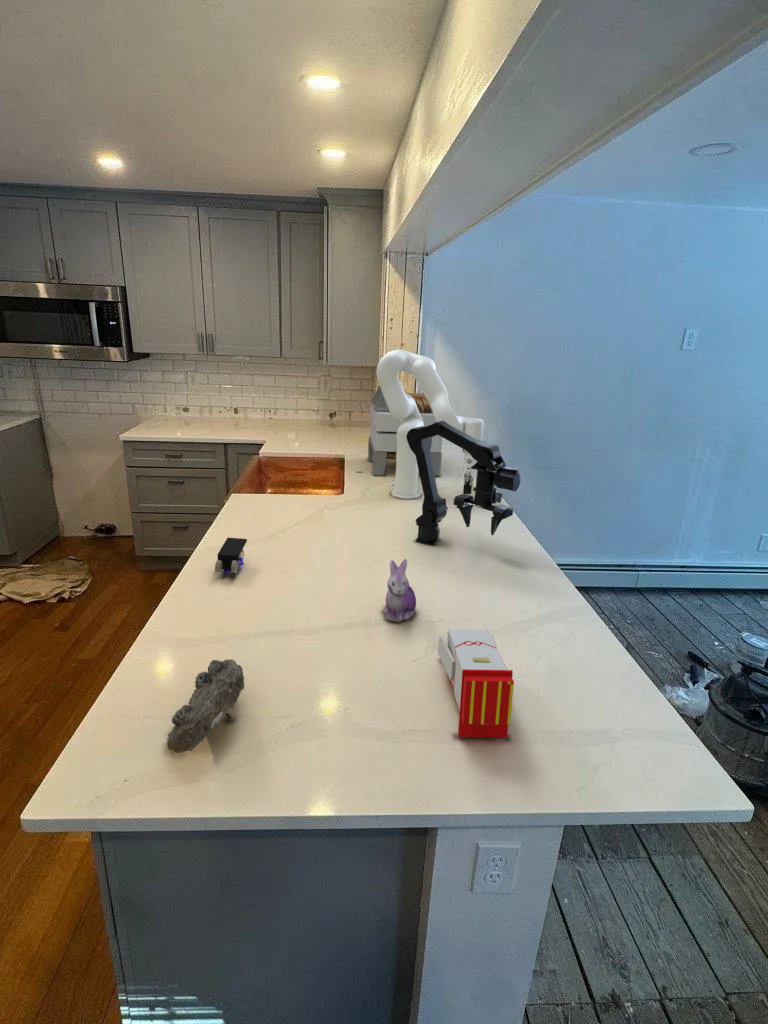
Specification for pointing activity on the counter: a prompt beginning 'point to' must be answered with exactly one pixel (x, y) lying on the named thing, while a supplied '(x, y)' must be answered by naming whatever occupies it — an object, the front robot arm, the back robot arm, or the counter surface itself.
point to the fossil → (206, 705)
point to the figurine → (399, 594)
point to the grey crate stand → (386, 430)
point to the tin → (472, 487)
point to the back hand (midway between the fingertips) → (467, 491)
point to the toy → (478, 682)
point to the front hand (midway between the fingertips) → (480, 530)
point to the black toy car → (230, 556)
